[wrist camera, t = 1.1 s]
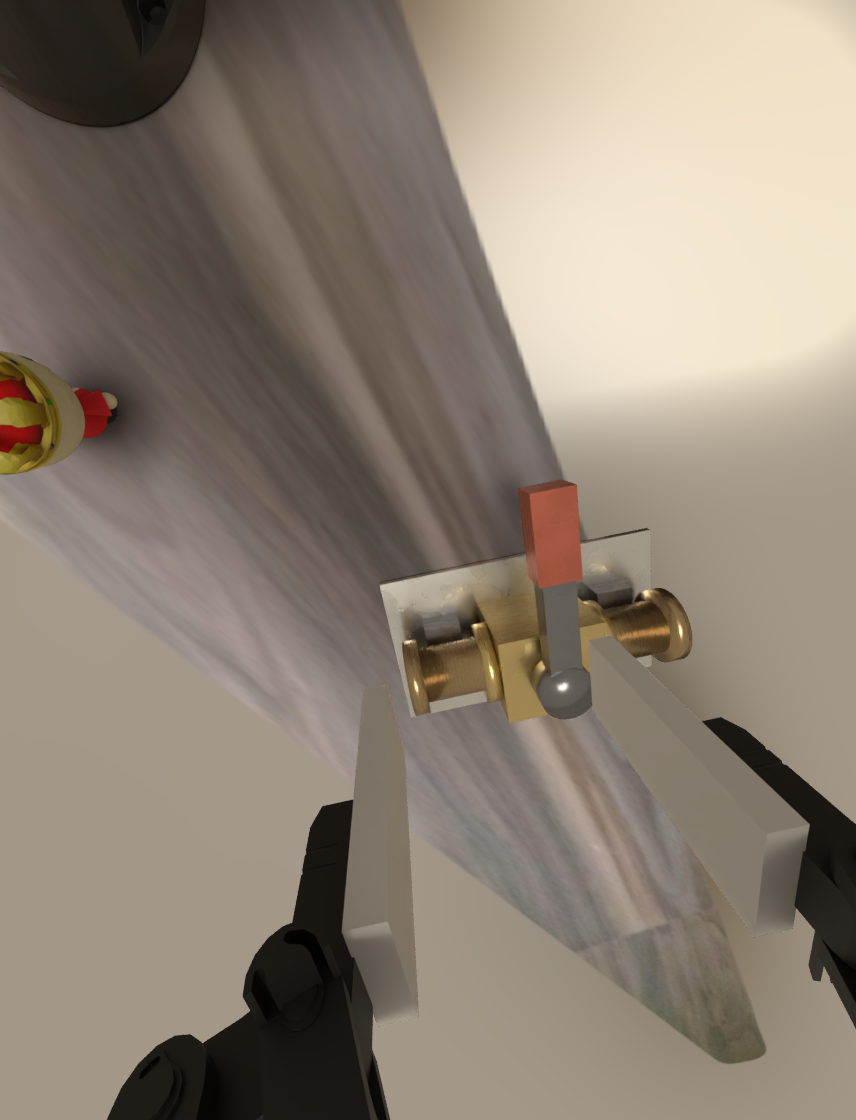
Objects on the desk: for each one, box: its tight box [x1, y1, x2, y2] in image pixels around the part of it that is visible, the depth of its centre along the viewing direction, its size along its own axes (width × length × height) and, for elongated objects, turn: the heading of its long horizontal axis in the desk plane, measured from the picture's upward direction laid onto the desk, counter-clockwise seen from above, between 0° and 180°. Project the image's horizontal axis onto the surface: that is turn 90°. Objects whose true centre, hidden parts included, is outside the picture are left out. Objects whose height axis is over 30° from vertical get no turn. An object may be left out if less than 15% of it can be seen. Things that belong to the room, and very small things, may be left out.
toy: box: [0, 351, 117, 475], centre depth 23 cm, size 7×7×15 cm
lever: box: [518, 480, 592, 719], centre depth 28 cm, size 16×4×2 cm, turn 10°
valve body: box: [380, 528, 692, 723], centre depth 35 cm, size 24×14×8 cm, turn 100°
